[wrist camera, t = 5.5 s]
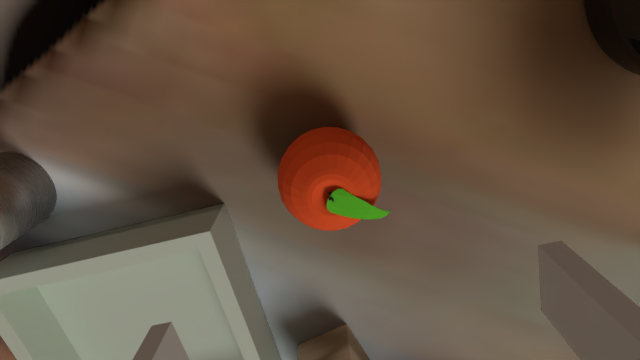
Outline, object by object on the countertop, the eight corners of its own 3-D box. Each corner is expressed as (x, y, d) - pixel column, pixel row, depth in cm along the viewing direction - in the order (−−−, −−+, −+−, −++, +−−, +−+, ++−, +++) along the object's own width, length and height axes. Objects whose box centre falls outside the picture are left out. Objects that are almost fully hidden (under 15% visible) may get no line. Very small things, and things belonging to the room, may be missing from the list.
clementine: (401, 145, 29) (428, 179, 22) (360, 221, 31) (373, 273, 24) (303, 101, 27) (300, 122, 21) (267, 184, 30) (254, 227, 23)
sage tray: (224, 203, 30) (209, 231, 26) (285, 371, 36) (282, 415, 32) (13, 252, 31) (-34, 286, 27) (108, 406, 38) (82, 453, 33)
